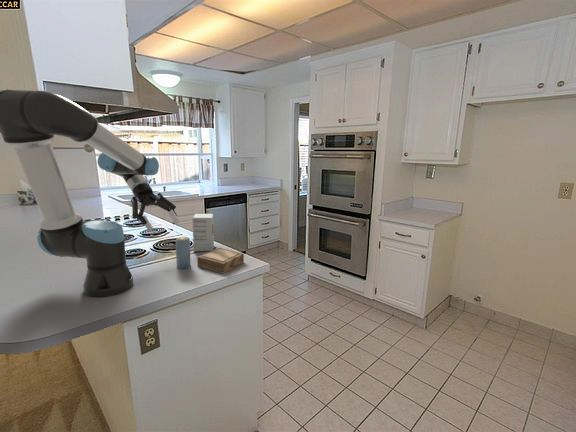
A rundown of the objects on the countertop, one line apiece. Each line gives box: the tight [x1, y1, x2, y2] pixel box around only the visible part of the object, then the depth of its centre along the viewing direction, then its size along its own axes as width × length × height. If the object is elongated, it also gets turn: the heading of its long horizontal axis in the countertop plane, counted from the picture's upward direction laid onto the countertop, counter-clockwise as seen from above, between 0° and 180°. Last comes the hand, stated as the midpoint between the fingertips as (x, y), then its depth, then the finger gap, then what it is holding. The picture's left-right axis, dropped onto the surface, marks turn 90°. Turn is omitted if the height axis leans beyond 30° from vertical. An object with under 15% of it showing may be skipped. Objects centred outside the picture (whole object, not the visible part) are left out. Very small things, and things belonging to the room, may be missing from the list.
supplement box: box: [191, 213, 215, 252], centre depth 147 cm, size 10×9×17 cm
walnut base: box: [197, 247, 245, 274], centre depth 131 cm, size 14×14×4 cm
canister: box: [175, 236, 192, 270], centre depth 125 cm, size 6×6×13 cm
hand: (165, 226), depth 128 cm, fingers open, 13 cm apart
